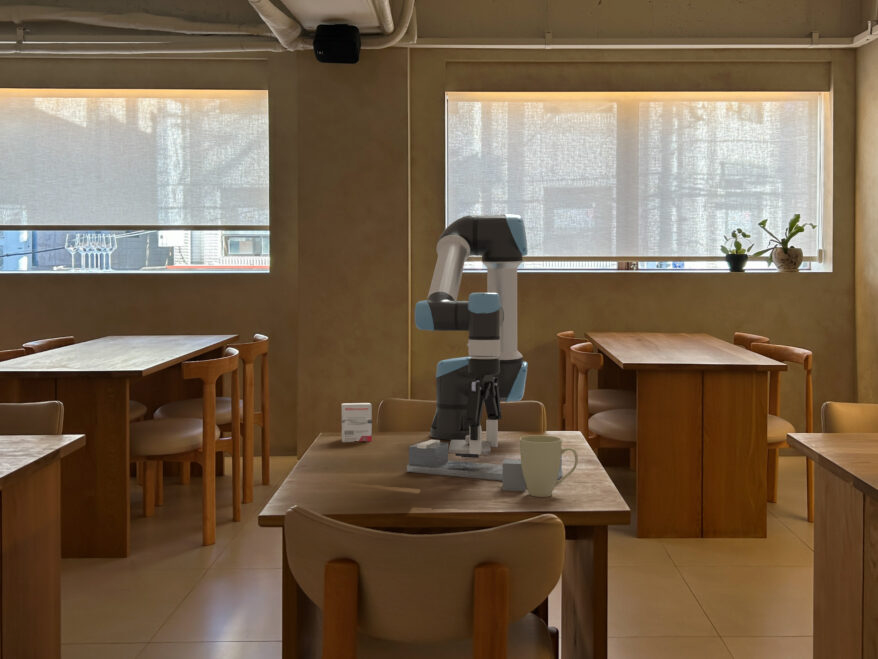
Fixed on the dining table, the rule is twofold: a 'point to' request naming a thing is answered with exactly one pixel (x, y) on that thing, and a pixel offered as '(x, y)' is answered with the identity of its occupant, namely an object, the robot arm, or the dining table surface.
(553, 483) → the mug
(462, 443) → the grey cover with knob
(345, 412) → the ink box
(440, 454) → the rail
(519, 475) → the block
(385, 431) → the dining table surface
